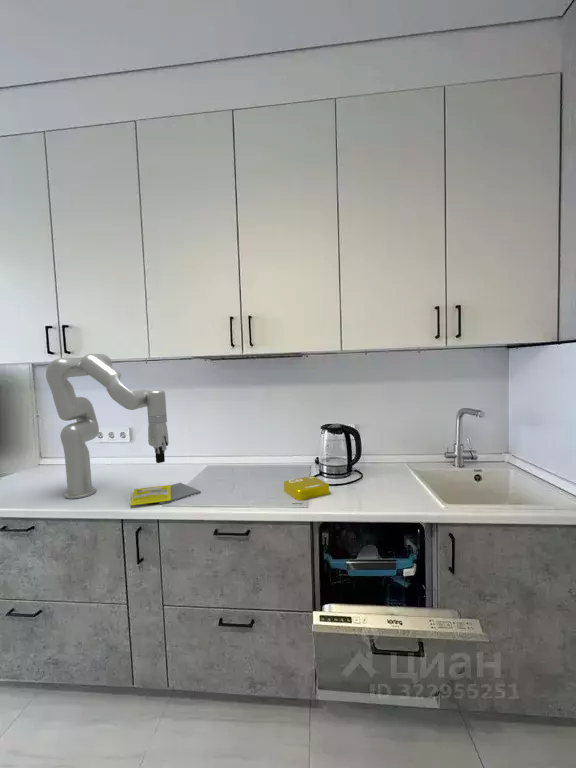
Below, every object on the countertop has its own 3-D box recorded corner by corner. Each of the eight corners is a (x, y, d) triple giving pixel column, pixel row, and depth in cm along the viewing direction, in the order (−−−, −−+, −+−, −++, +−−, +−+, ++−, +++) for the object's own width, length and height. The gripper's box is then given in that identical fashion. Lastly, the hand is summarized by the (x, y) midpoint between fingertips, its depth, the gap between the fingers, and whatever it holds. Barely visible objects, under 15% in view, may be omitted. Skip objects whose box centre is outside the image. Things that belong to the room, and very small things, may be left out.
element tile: (298, 502, 157) (297, 490, 157) (282, 491, 171) (281, 480, 170) (331, 495, 164) (330, 483, 163) (313, 484, 177) (312, 474, 177)
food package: (134, 490, 176) (129, 506, 157) (134, 487, 176) (129, 503, 157) (170, 486, 180) (170, 501, 161) (170, 483, 180) (170, 498, 161)
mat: (142, 494, 173) (142, 493, 172) (180, 484, 185) (180, 482, 185) (161, 505, 159) (160, 503, 159) (200, 492, 172) (200, 491, 172)
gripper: (141, 419, 172) (144, 461, 173) (156, 422, 161) (160, 467, 163) (158, 416, 177) (160, 457, 179) (174, 419, 166) (177, 463, 168)
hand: (160, 462), depth 171 cm, fingers closed
